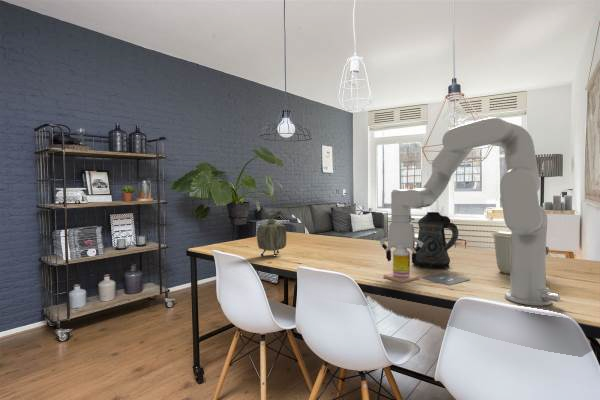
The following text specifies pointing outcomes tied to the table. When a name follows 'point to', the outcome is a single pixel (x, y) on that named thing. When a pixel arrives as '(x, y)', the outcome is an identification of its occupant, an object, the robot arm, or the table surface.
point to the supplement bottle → (401, 262)
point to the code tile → (445, 279)
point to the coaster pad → (401, 279)
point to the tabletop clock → (271, 235)
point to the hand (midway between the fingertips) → (401, 261)
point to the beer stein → (434, 241)
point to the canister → (503, 249)
